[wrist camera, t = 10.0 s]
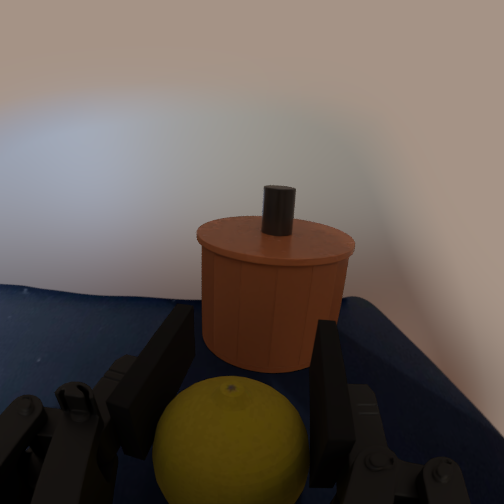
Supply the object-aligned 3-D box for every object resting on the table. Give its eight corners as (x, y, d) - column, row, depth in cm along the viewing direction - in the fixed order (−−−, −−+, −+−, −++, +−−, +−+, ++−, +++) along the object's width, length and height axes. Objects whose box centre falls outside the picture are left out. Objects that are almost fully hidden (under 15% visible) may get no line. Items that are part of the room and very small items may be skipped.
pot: (310, 301, 33) (319, 223, 31) (352, 365, 23) (375, 264, 20) (202, 303, 32) (202, 220, 29) (203, 376, 21) (201, 264, 18)
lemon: (184, 452, 13) (169, 325, 11) (293, 466, 13) (323, 341, 11) (155, 539, 8) (99, 436, 6) (288, 559, 8) (341, 474, 5)
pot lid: (321, 228, 31) (326, 183, 30) (381, 274, 20) (393, 206, 19) (198, 226, 30) (199, 177, 28) (194, 276, 18) (194, 196, 17)
